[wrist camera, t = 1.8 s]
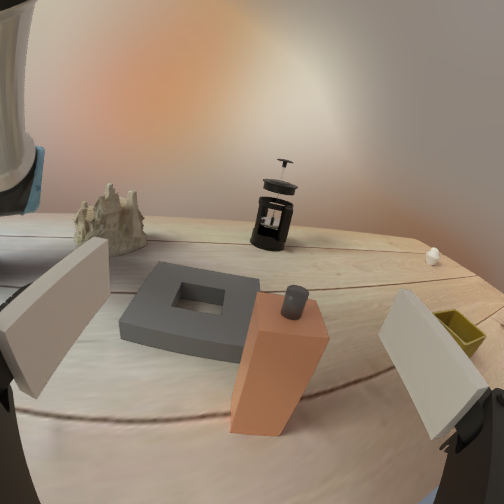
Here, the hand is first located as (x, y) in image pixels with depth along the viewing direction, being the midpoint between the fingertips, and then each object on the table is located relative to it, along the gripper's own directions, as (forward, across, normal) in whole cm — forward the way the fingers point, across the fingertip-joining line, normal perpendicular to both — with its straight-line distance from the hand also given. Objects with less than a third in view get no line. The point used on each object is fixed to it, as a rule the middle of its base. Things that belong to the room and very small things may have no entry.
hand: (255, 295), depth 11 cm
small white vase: (+72, +74, -19) cm, 105 cm away
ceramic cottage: (+44, -30, -19) cm, 56 cm away
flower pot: (+16, +35, -20) cm, 43 cm away
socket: (+24, -5, -19) cm, 31 cm away
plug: (+7, +4, -19) cm, 21 cm away
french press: (+59, +8, -19) cm, 63 cm away
